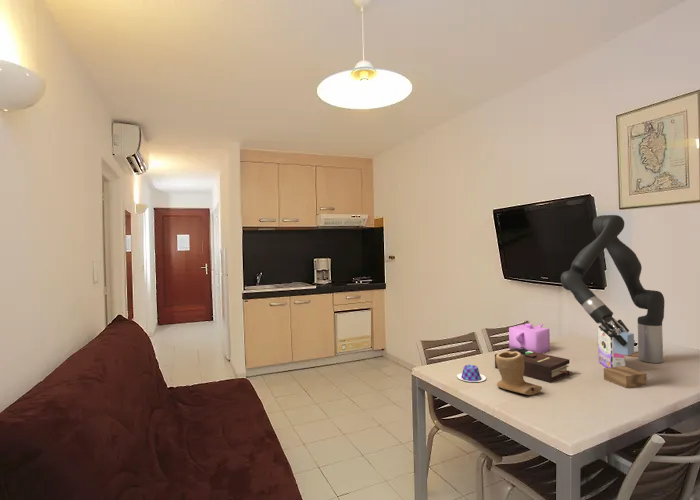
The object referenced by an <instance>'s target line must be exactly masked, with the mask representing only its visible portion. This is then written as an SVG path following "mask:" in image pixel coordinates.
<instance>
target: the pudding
mask: <svg viewBox="0 0 700 500" xmlns="http://www.w3.org/2000/svg"><path fill="white" fill-rule="evenodd" d="M456 378H457V379H459V380H461V381H464V382H470V383H478V382H479V383H480V382H484V381H485V380H486V379H487V377H486V376H485V375H483V374H481V373H480V370H479V367H478V366H477V365H474V364H466V365H464V366H463V369H462V372H460V373H458V374H457V375H456Z"/></svg>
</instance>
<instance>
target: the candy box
mask: <svg viewBox="0 0 700 500" xmlns="http://www.w3.org/2000/svg"><path fill="white" fill-rule="evenodd" d="M597 344H598V346H597V349H598V363H599V364H600V365H602V366H604V367H605V368H611V367H619V366H625V367H626V355H622V354H618V353H614V338H613V337H612V338H610V337H609V336H608V335H607V334H606V333H605V332H603V331H602V330H601V329H600V328H599V327H597Z"/></svg>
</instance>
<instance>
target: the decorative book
mask: <svg viewBox="0 0 700 500" xmlns="http://www.w3.org/2000/svg"><path fill="white" fill-rule="evenodd" d="M520 348H523V349H519V348H514V349H509V350H508V349H507V351H510V352H514V351H517V352H519V353H520V354H521V355H522V356H523V358H524V374H523V377H527V378H531V379H533V380H534V379H535V380H538V381H542V382H545V383H549V384H551V383H553V382H555V381H557V379H558V380H560V379H562V378H564V377H566V375H567V376H568V375H569V376H570V374H571V371H570V370H567V368H569V364H570V359H568V358H564V357H560V356H554V355H550V354H545V353H536V352H532V351H529V350H526V349H525V347H520ZM497 354H498V353H495V354H494V368H495V369H497V370H498V367H497V364H496V355H497Z"/></svg>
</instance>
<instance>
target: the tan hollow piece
mask: <svg viewBox="0 0 700 500" xmlns="http://www.w3.org/2000/svg"><path fill="white" fill-rule="evenodd" d="M496 354H497V355H496V364H497V367H498V369H497V370H498V372H499V374H500V376H501V380H499V381H497V382H496V386H497V387H498V388H501V389H503V390H506V391H507V390H508V391H511V392H514V393H517V394H522V395H527V396H533V395H537V394H538V393H539V392H541V391H542V389H543V387H542V385H539V384H538V385H537V384H533V383H530V382H527V381H526V380H525V378H524V376H523V374H524V358H523V356H522V355H521V354H520V353H519V352H517V351H514V352H510V351H508V350H505V351H502V352H498V353H496Z"/></svg>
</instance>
